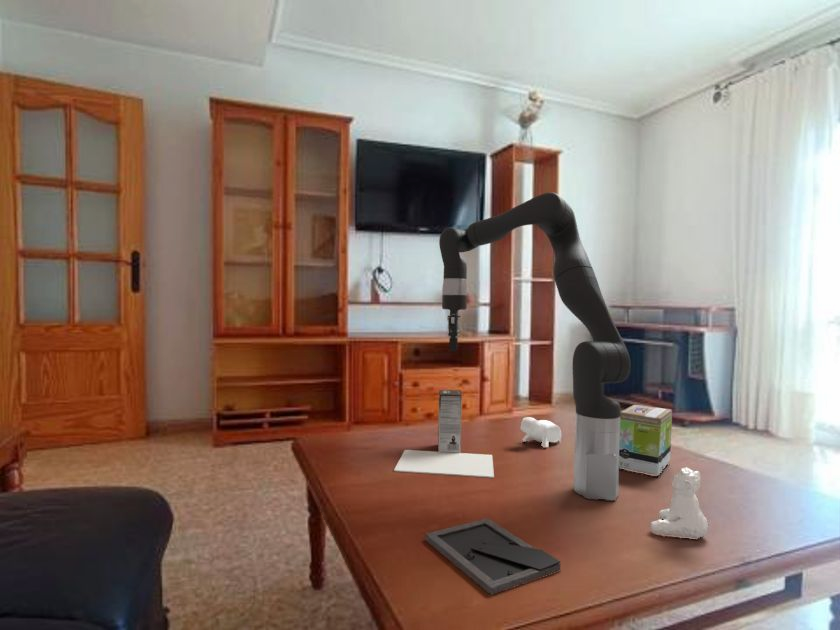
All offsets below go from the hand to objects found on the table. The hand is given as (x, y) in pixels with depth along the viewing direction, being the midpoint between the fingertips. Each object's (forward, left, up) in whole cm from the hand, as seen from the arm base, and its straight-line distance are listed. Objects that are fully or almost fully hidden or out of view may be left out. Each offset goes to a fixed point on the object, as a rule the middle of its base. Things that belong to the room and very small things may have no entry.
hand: (453, 349), depth 145 cm
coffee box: (-11, 0, -27) cm, 29 cm away
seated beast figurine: (-54, -45, -28) cm, 76 cm away
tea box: (-16, -51, -28) cm, 60 cm away
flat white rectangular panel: (-24, 0, -27) cm, 36 cm away
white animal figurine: (-1, -26, -28) cm, 38 cm away
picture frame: (-68, -10, -28) cm, 74 cm away
